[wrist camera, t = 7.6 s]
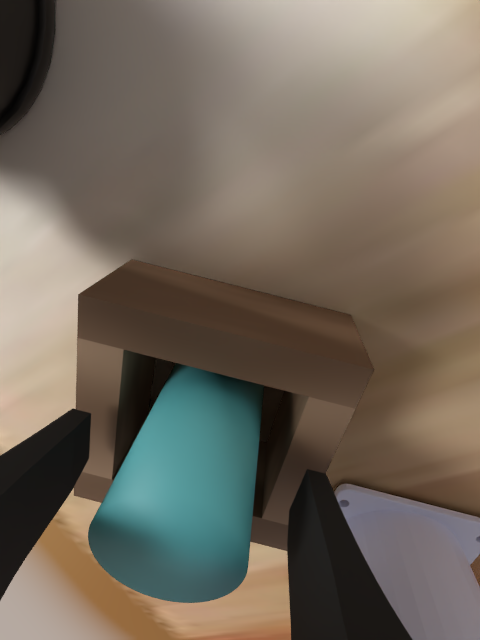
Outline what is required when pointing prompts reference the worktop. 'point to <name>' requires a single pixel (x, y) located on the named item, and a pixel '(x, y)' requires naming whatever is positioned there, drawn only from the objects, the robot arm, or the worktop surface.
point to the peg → (185, 491)
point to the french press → (23, 55)
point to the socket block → (222, 358)
